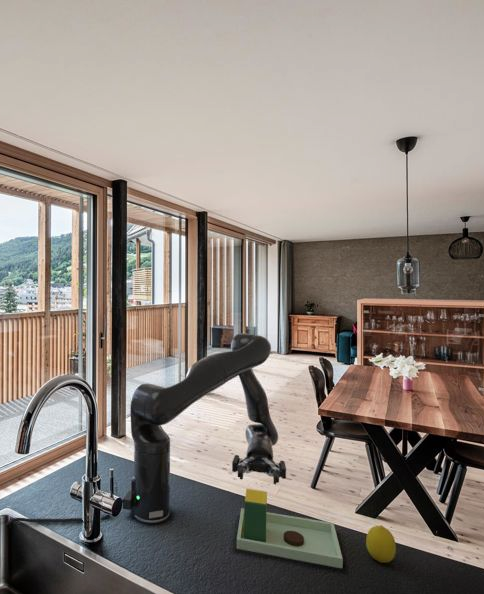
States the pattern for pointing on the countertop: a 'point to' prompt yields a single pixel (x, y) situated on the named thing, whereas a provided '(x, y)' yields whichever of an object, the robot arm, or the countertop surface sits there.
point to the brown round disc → (293, 538)
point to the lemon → (381, 544)
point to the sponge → (255, 515)
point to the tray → (315, 549)
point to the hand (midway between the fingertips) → (257, 478)
